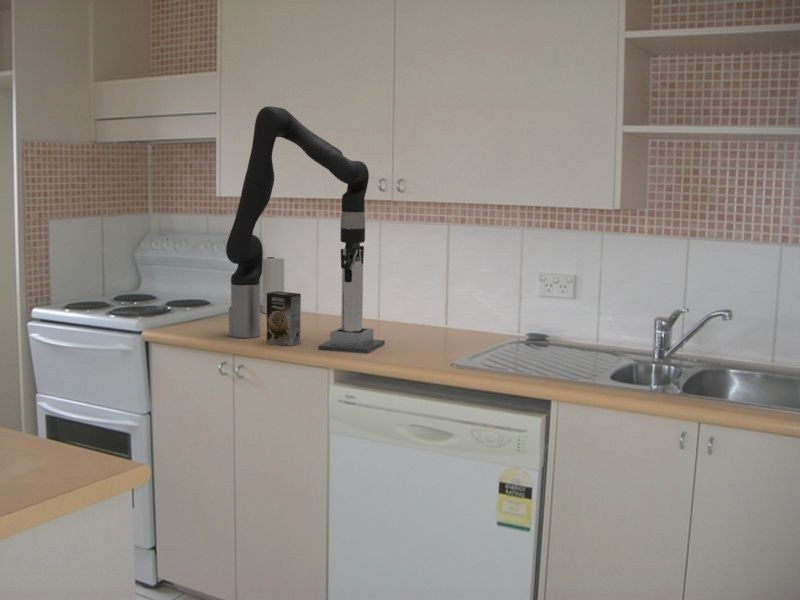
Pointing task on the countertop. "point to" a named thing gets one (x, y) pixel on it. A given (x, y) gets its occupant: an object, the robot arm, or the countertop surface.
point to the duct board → (352, 341)
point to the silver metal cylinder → (352, 300)
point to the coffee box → (283, 318)
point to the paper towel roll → (272, 277)
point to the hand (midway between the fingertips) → (352, 280)
